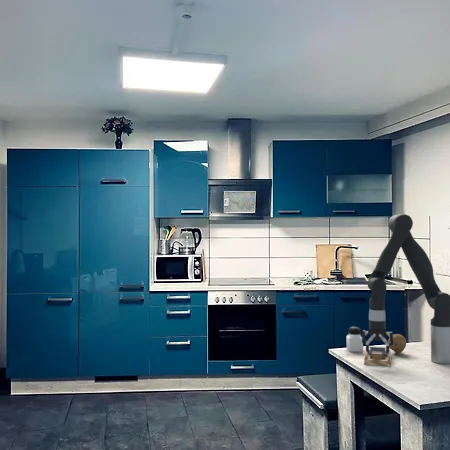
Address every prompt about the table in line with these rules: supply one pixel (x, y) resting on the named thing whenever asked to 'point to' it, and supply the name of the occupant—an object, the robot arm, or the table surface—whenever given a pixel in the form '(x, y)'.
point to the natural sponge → (398, 343)
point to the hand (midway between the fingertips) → (377, 353)
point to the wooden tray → (384, 362)
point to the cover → (377, 350)
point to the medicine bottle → (354, 340)
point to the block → (377, 355)
